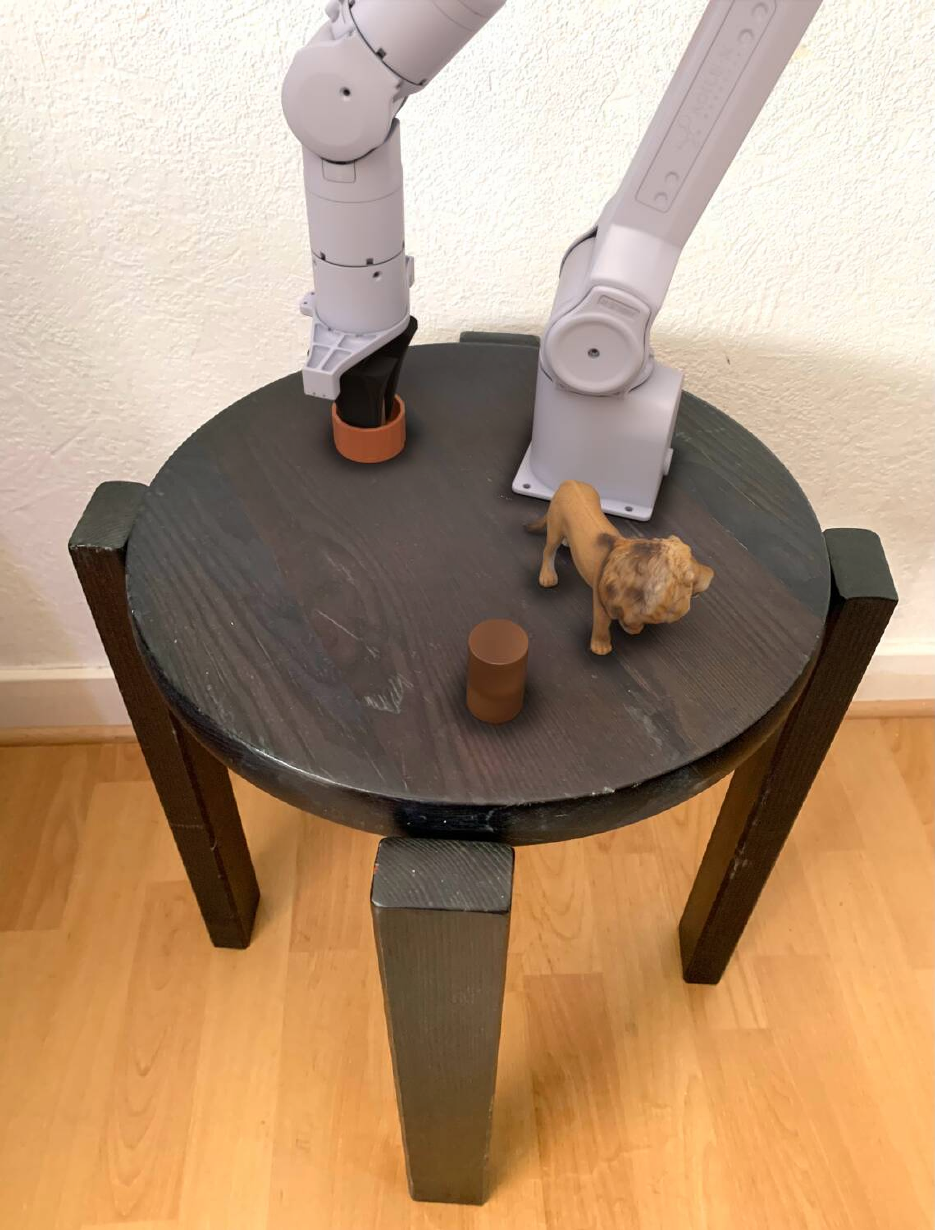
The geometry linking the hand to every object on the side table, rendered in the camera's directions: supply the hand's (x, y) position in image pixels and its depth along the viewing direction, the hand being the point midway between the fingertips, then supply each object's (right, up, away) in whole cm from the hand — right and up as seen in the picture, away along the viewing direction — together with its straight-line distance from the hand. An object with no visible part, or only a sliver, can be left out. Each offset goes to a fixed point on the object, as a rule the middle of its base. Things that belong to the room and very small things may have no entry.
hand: (368, 425), depth 73 cm
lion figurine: (+15, -13, -9) cm, 22 cm away
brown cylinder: (+8, -18, -14) cm, 25 cm away
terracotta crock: (0, -1, +1) cm, 1 cm away
